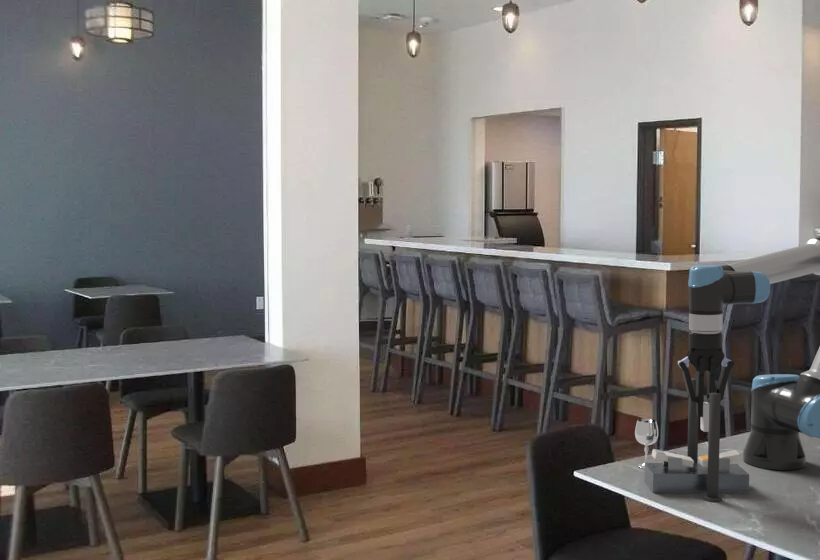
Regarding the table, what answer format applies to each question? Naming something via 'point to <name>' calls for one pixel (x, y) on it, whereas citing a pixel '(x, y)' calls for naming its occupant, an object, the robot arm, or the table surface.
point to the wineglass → (646, 435)
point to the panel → (694, 477)
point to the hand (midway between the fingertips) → (705, 430)
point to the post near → (713, 448)
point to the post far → (693, 428)
